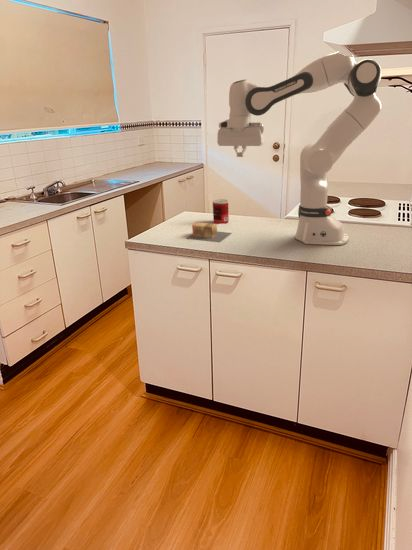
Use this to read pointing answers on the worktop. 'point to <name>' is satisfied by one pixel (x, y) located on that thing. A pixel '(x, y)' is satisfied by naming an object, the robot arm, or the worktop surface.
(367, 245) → the worktop surface
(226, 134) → the robot arm
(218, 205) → the canned food
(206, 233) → the oak block
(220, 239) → the slate mat
